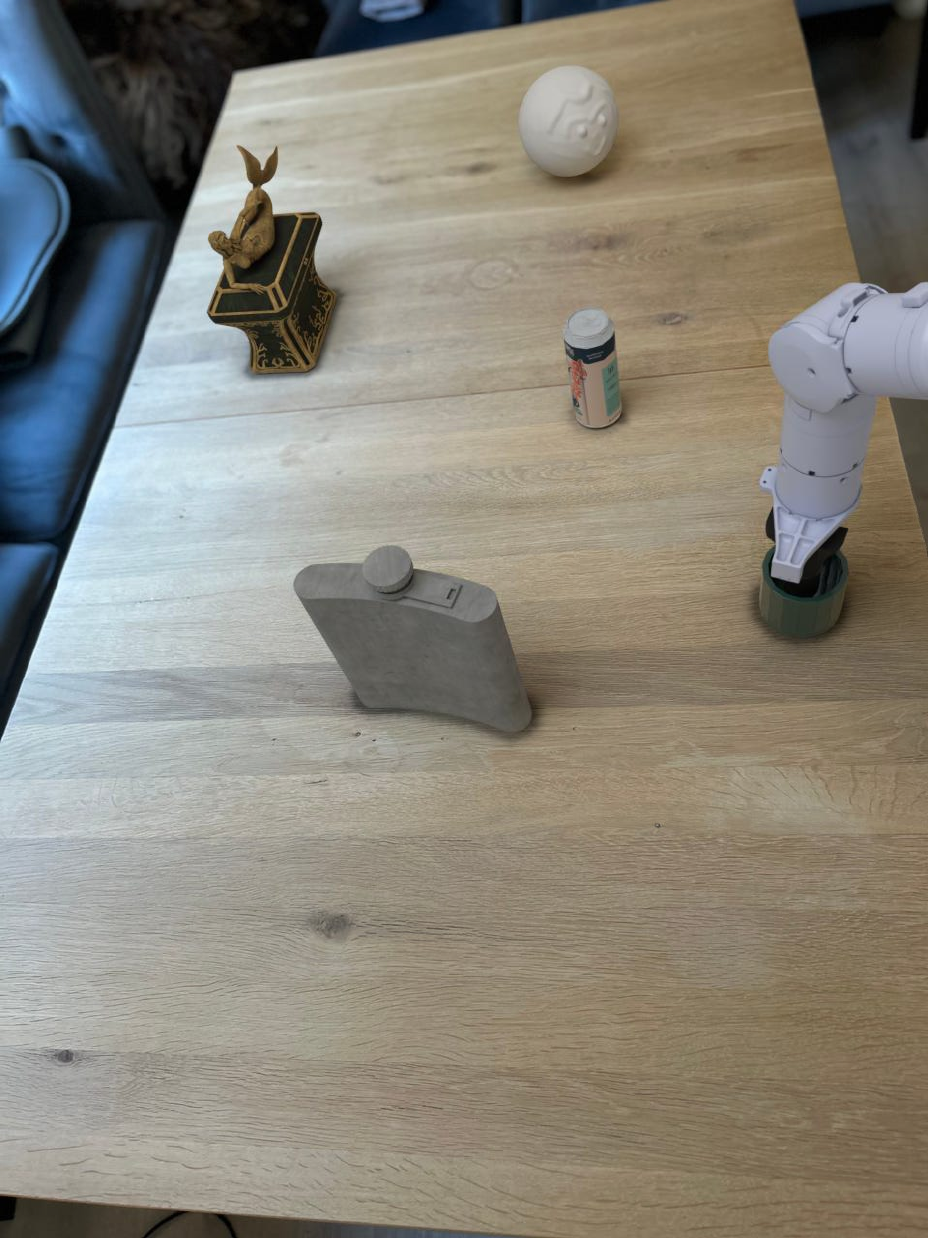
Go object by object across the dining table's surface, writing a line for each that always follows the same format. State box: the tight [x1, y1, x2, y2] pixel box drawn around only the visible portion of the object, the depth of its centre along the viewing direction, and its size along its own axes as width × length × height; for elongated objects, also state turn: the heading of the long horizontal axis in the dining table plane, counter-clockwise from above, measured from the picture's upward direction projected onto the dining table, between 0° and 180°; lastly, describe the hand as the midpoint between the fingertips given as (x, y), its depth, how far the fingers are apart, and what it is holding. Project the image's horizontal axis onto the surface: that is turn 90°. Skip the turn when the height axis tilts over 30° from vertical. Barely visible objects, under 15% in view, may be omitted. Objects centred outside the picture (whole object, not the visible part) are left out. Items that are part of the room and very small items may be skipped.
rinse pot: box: [758, 543, 850, 639], centre depth 82 cm, size 7×7×6 cm
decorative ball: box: [517, 64, 620, 178], centre depth 119 cm, size 12×12×12 cm
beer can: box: [562, 306, 623, 429], centre depth 96 cm, size 5×5×12 cm
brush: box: [783, 566, 822, 598], centre depth 79 cm, size 3×3×7 cm
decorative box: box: [206, 144, 338, 374], centre depth 110 cm, size 20×10×20 cm, turn 171°
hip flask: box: [292, 544, 533, 734], centre depth 78 cm, size 16×4×20 cm, turn 73°
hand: (805, 561), depth 79 cm, fingers closed on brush
